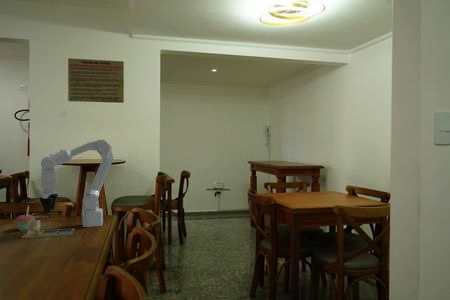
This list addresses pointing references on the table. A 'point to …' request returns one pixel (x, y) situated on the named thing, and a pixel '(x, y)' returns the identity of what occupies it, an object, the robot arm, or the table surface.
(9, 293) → the table surface
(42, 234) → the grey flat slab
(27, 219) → the cupcake
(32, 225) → the beech block
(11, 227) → the table surface
